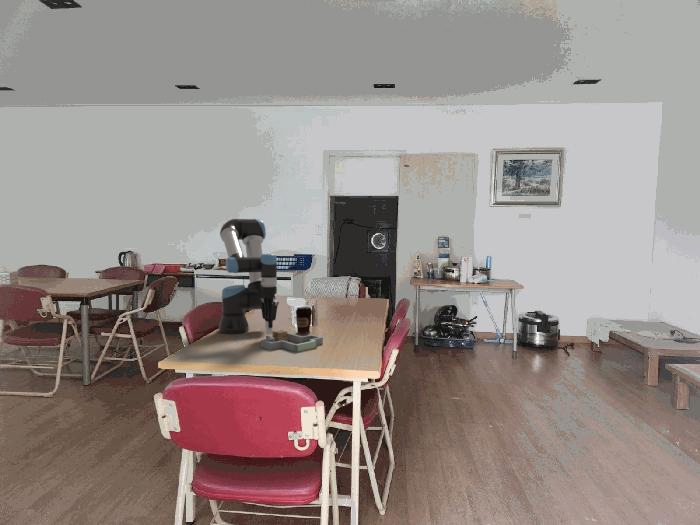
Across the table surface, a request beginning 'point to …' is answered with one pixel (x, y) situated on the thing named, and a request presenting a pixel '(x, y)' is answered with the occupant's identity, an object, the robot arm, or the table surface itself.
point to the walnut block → (280, 335)
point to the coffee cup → (303, 319)
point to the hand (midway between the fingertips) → (269, 334)
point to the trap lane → (305, 341)
